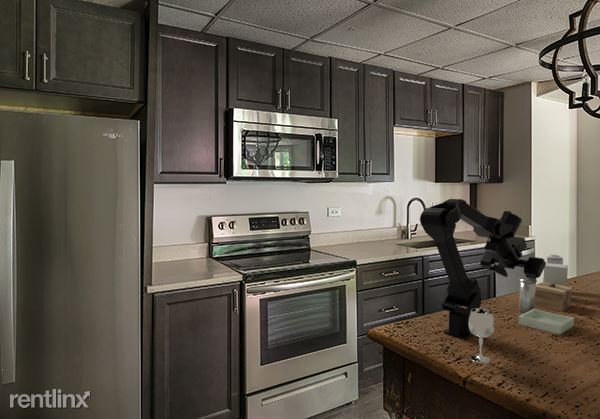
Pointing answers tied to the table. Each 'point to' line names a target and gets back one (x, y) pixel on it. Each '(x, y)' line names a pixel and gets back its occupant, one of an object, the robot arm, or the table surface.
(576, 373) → the table surface
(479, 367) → the table surface
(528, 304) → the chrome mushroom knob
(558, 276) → the supplement box
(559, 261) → the syrup box
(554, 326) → the tray
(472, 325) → the wineglass
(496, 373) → the table surface
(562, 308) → the lidded bin
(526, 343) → the table surface
